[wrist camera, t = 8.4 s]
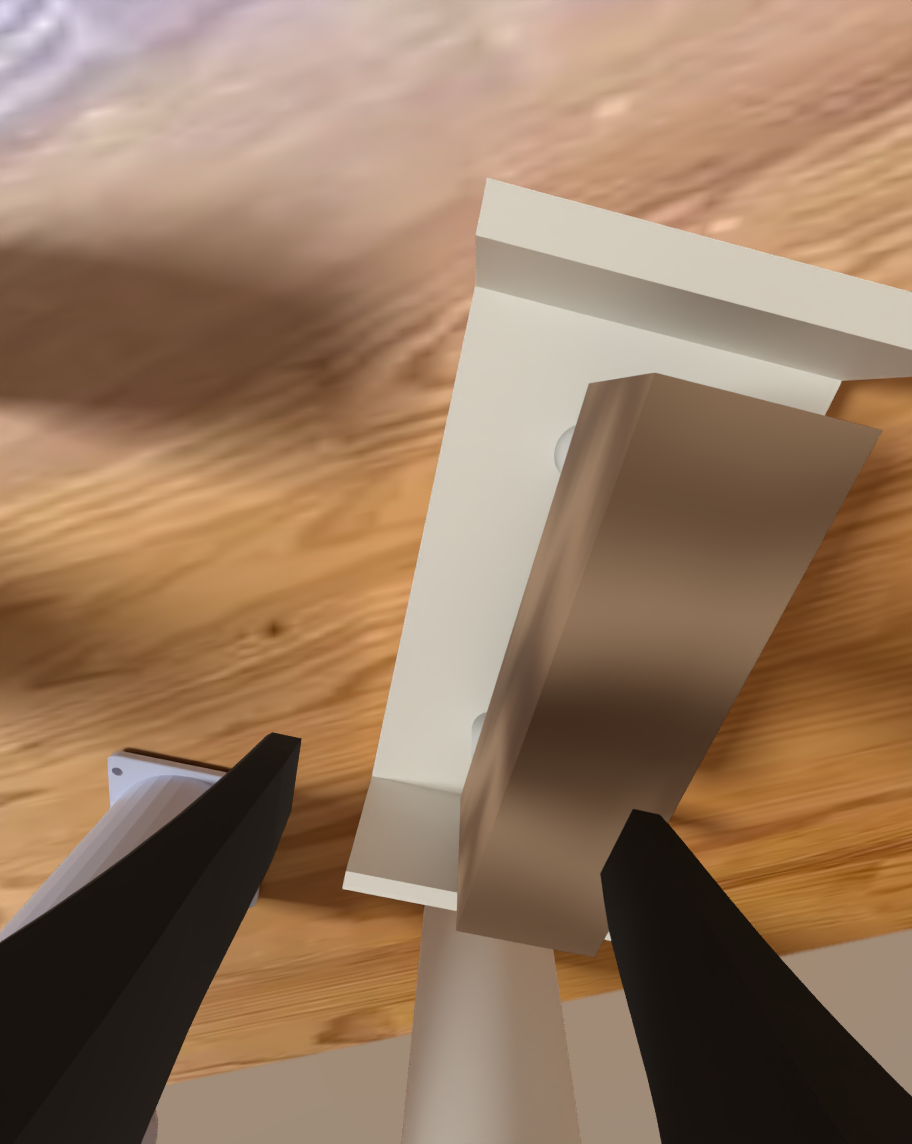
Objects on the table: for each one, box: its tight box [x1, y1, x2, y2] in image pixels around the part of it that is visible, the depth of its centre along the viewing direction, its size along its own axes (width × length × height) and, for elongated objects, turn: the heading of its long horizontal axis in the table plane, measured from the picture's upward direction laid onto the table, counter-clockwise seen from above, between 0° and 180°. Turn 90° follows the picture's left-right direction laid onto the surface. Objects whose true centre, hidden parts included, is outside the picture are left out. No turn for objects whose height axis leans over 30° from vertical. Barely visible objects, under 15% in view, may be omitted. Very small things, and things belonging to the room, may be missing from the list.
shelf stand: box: [342, 178, 912, 941], centre depth 16 cm, size 23×12×6 cm, turn 167°
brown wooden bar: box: [456, 373, 882, 957], centre depth 13 cm, size 16×4×5 cm, turn 167°
